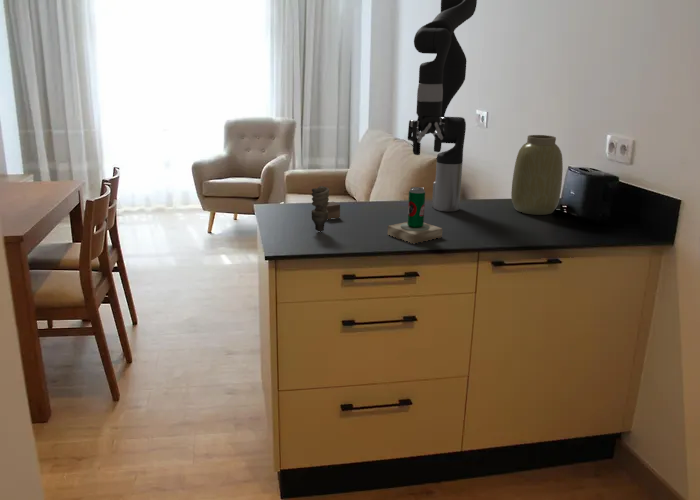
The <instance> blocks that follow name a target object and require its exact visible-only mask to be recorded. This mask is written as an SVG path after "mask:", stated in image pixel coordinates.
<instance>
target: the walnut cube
mask: <svg viewBox="0 0 700 500" xmlns="http://www.w3.org/2000/svg"><path fill="white" fill-rule="evenodd" d="M328 203H329V204H328V205H327V206H326V207H325V209H326V210H327V211H328V219H331V218H339V217H340V218H341V204H340V203H338V202H336V201H328Z"/></svg>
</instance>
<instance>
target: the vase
mask: <svg viewBox="0 0 700 500" xmlns="http://www.w3.org/2000/svg"><path fill="white" fill-rule="evenodd" d="M526 139H527V140H526V142H525V143H524V144H523V145H522V146H521V147H520V149H519V151H518V152H517V156H516V159H515V164H514V169H513V174H512V181H511V182H512V184H511V193H510V194H511V196H510V197H511V202H512V205H513V208H514V209H515V210H516V211H517V212H519V213H521V212H522V213H521V214H527V215H533V216H534V215H536V216H541V215H543V216H545V215H550V214H552V213H554V212H555V210H556V209H557V207H558V205H559V202H560V198H561V192H562V184H563V174H564V173H563V170H564V169H563V167H564V166H563V163H564V162H563V161H564V160H563V154H562V151H561V148H560V147H559V146H558V145H557V144H556V140H557V138H556V136H554V135H546V134H529V135H527V138H526Z"/></svg>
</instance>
